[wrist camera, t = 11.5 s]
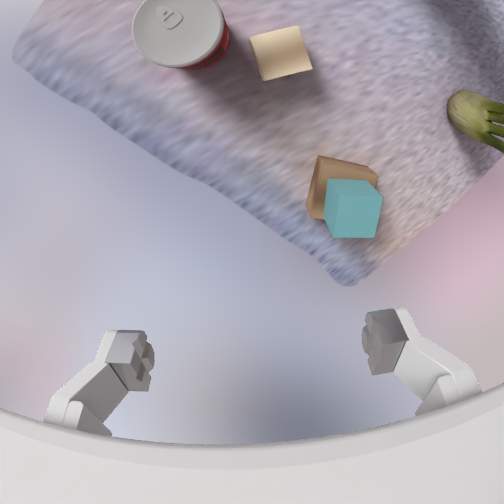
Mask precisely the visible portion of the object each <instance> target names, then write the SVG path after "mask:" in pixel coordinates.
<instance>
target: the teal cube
mask: <svg viewBox="0 0 504 504" xmlns="http://www.w3.org/2000/svg"><path fill="white" fill-rule="evenodd" d="M382 200H383V197H382V196H381V195H380V194H379V193H378V191H377V190H376V189H375V188H374V187H373V186H372V185H371V184H370V183H369V182H368V181H365V180H349V179H329V178H328V180H327V189H326V198H325V206H324V214H323V218H324V220H325V222H326V224H327V226H328V228H329V230H330V232H331V234H332V236H333V238H375V233H376V229H377V224H378V220H379V215H380V210H381V205H382Z"/></svg>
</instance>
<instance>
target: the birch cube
mask: <svg viewBox="0 0 504 504" xmlns="http://www.w3.org/2000/svg"><path fill="white" fill-rule="evenodd" d="M249 44H250V47H251V49H252V52H253V55H254V58H255V60H256V63H257V66H258V69H259V72H260V75H261V77H262V80H263V81H267V80H271V79H274V78H278V77H282V76H286V75H290V74H294V73H298V72H302V71H306V70H311V69H312V65H311V62H310V59H309V56H308V53H307V50H306V47H305V44H304V41H303V38H302V35H301V32H300V30H299V27H298V25H297V26H293V27H288V28H284V29H279V30H275V31H271V32H267V33H263V34H259V35H256V36H252V37H250V38H249Z"/></svg>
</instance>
